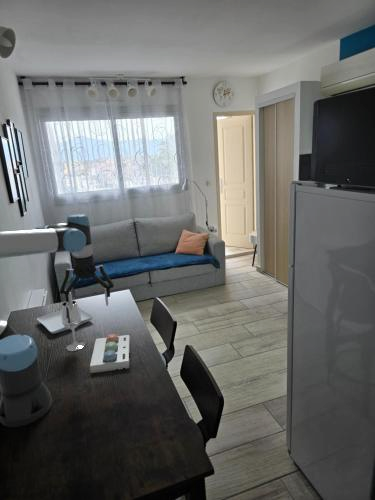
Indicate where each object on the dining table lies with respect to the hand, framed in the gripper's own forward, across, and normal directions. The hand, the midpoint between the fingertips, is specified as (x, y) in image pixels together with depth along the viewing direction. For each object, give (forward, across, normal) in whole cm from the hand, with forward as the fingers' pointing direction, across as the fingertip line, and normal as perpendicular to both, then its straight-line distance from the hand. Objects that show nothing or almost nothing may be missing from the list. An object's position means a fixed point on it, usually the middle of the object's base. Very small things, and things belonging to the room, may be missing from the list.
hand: (89, 306), depth 129 cm
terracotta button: (+18, -7, -2) cm, 19 cm away
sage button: (+18, -7, +5) cm, 20 cm away
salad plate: (+21, +17, -32) cm, 42 cm away
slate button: (+18, -6, +11) cm, 22 cm away
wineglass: (+20, +9, -7) cm, 23 cm away
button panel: (+20, -7, +5) cm, 22 cm away
